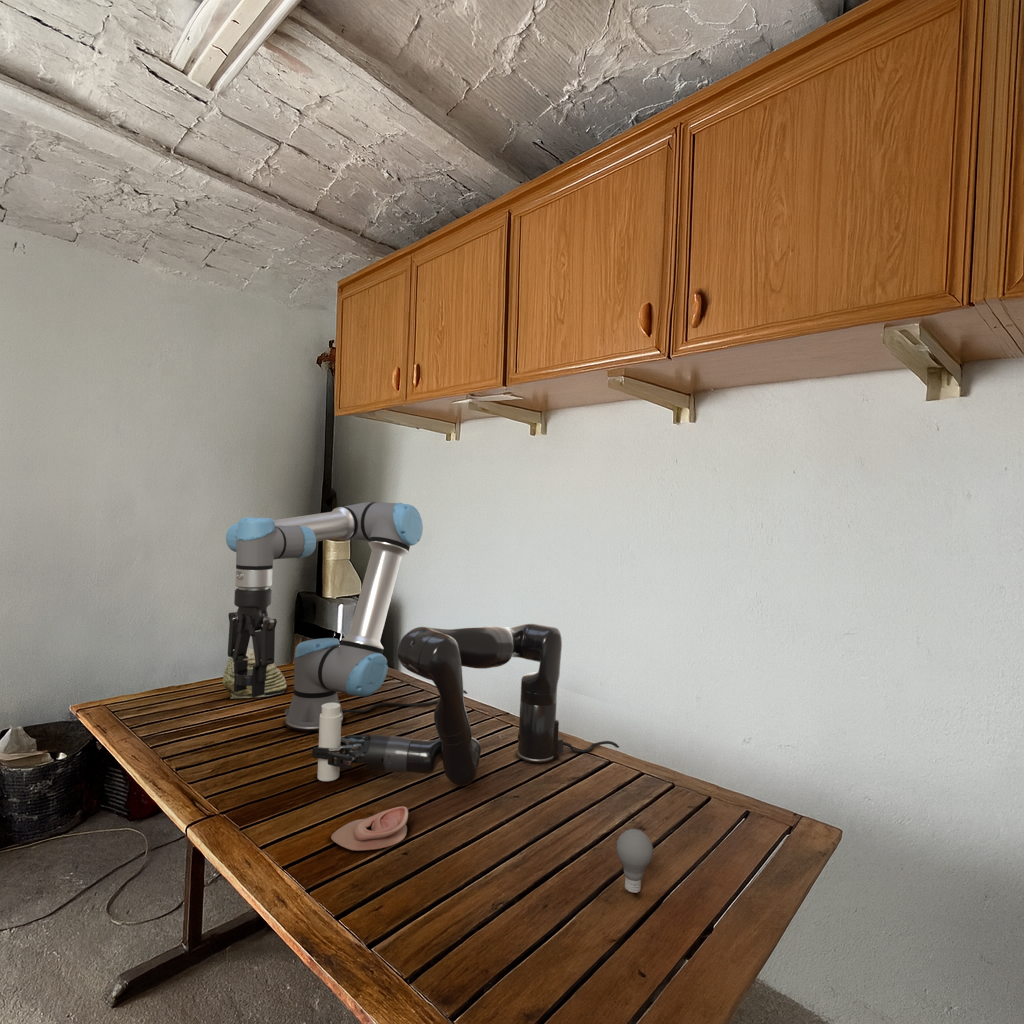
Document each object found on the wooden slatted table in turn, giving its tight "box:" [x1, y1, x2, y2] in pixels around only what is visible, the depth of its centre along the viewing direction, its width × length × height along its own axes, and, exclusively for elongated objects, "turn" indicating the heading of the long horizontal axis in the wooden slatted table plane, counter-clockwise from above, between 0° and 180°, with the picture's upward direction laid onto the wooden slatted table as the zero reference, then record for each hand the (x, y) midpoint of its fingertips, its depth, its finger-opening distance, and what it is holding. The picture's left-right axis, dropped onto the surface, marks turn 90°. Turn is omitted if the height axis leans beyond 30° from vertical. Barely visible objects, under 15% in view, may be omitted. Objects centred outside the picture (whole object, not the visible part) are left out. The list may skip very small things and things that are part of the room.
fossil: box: [222, 647, 288, 699], centre depth 198 cm, size 9×18×15 cm, turn 132°
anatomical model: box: [330, 805, 409, 852], centre depth 119 cm, size 13×4×12 cm
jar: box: [316, 703, 342, 782], centre depth 143 cm, size 5×5×16 cm
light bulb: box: [615, 828, 654, 894], centre depth 106 cm, size 6×6×10 cm
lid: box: [236, 669, 253, 686], centre depth 139 cm, size 6×6×2 cm
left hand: (249, 692), depth 139 cm, fingers closed on lid, 5 cm apart
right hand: (318, 747), depth 144 cm, fingers closed on jar, 4 cm apart
